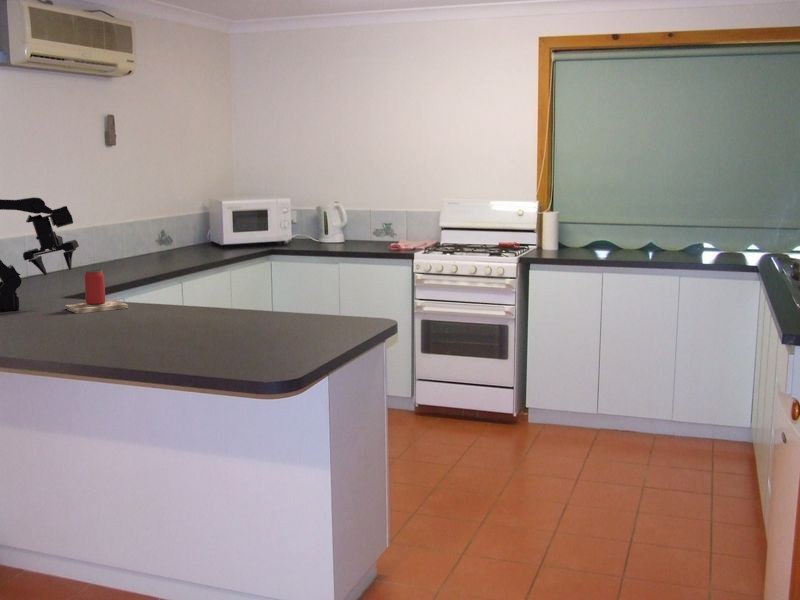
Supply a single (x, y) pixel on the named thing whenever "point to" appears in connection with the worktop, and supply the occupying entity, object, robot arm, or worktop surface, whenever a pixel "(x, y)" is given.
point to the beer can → (94, 287)
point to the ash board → (96, 307)
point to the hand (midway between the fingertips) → (58, 272)
